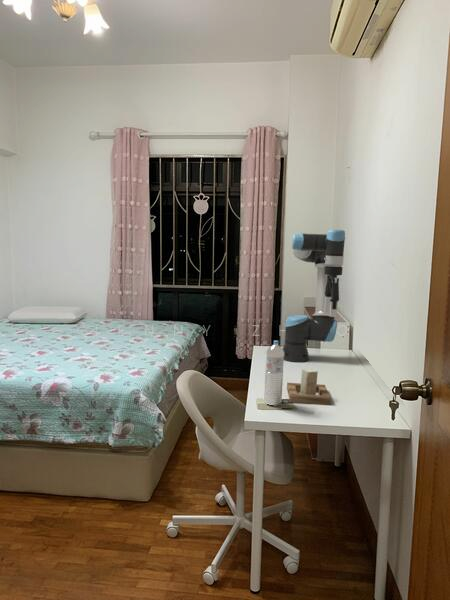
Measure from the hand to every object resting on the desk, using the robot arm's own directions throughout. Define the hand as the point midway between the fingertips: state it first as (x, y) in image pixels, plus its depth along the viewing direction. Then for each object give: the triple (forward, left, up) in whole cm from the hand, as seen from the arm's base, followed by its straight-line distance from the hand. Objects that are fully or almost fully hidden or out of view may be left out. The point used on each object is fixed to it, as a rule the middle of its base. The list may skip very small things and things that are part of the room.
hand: (330, 313), depth 190 cm
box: (+18, -10, -32) cm, 38 cm away
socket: (+18, -10, -32) cm, 38 cm away
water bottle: (+28, -25, -32) cm, 49 cm away
